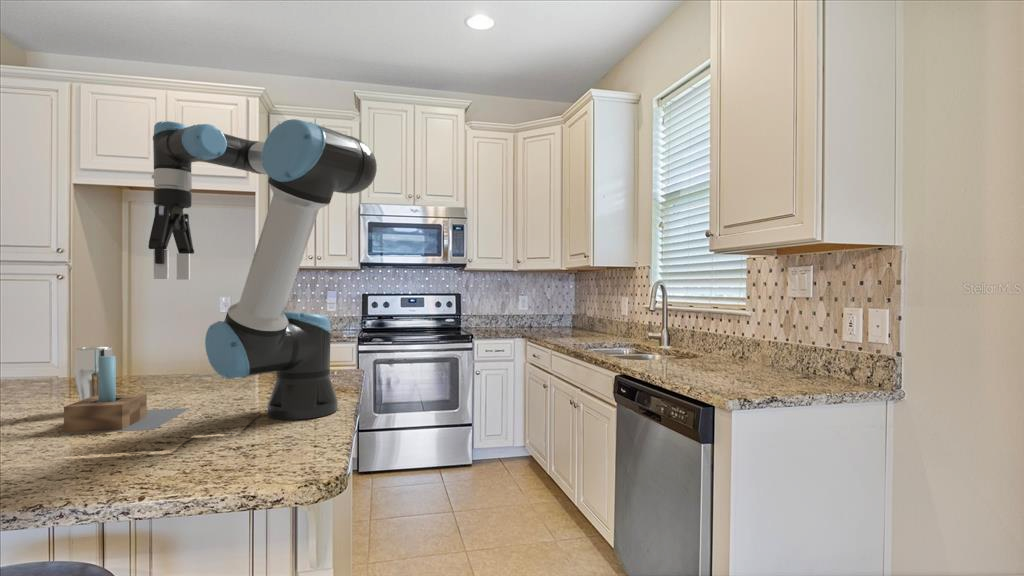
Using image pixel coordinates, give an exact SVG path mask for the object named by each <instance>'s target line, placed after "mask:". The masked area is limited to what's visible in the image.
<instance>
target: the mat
mask: <svg viewBox="0 0 1024 576" xmlns="http://www.w3.org/2000/svg"><path fill="white" fill-rule="evenodd" d="M188 410H190V407H187V408H186V407H185V408H184V407H183V408H161V409H159V408H157V409H156V408H155V409H147V417H146V418H144V419H142V420H140V421H138V422H136V423H134V424H132V425H130V426H128V427H127V428H125V429H123V430H106V431H85V432H64V431H63V432H62V433H60V435H75V434H90V433H91V434H93V433H94V434H95V433H114V432H117V433H118V432H132V431H133V432H137V431H138V432H139V431H154V430H156V429H157V428H159V427H161V426H162V425H165V424H166V423H168V422H169V421H172V420H173V419H175V418H177V417H178V416H179V415H181V414H183V413H185V412H187V411H188Z"/></svg>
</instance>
